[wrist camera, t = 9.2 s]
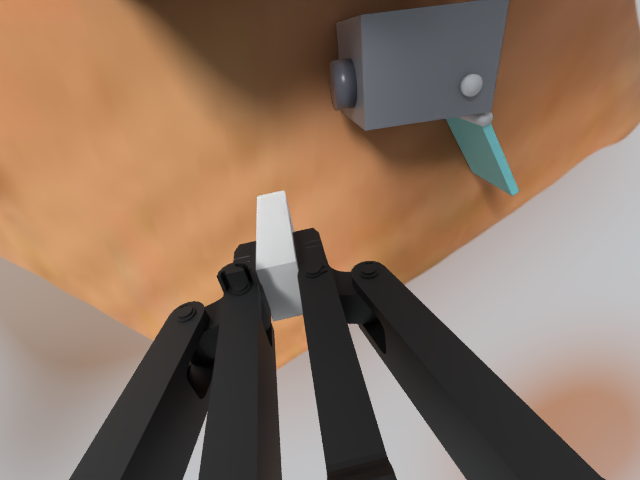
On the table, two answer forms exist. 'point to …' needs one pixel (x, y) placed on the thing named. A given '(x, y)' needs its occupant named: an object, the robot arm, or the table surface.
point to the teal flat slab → (483, 150)
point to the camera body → (418, 63)
